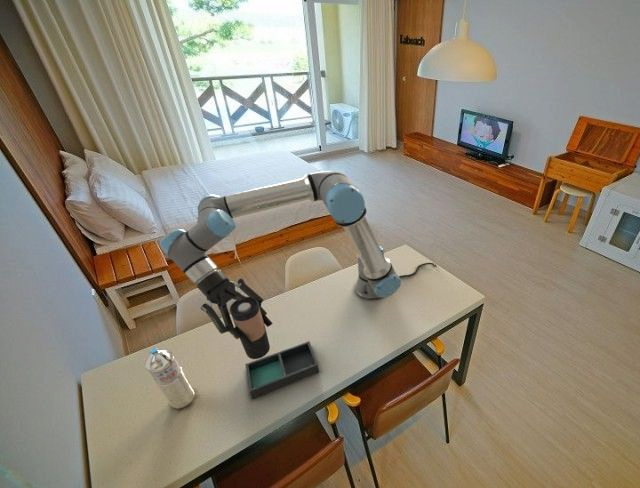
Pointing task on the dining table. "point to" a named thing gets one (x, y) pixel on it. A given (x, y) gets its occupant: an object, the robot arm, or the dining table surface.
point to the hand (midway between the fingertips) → (260, 334)
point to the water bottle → (170, 378)
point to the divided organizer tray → (281, 369)
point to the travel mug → (251, 326)
